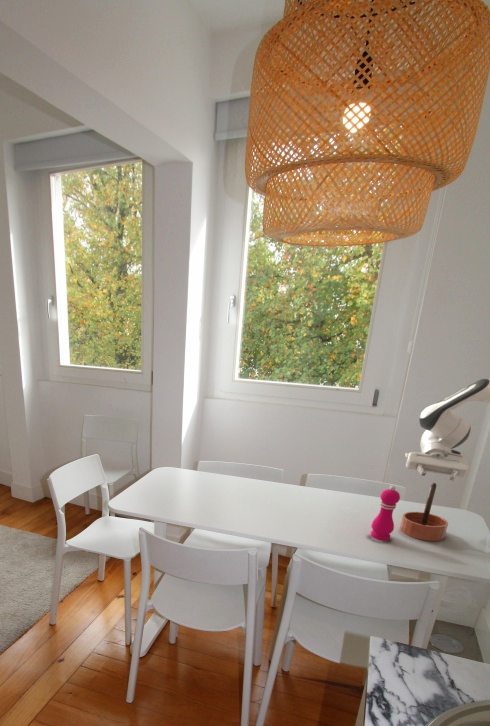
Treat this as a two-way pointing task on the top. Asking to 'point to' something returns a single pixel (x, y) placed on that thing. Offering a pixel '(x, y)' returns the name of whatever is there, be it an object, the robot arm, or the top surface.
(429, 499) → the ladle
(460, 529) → the top surface
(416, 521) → the bowl
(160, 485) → the top surface
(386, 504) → the pepper mill
